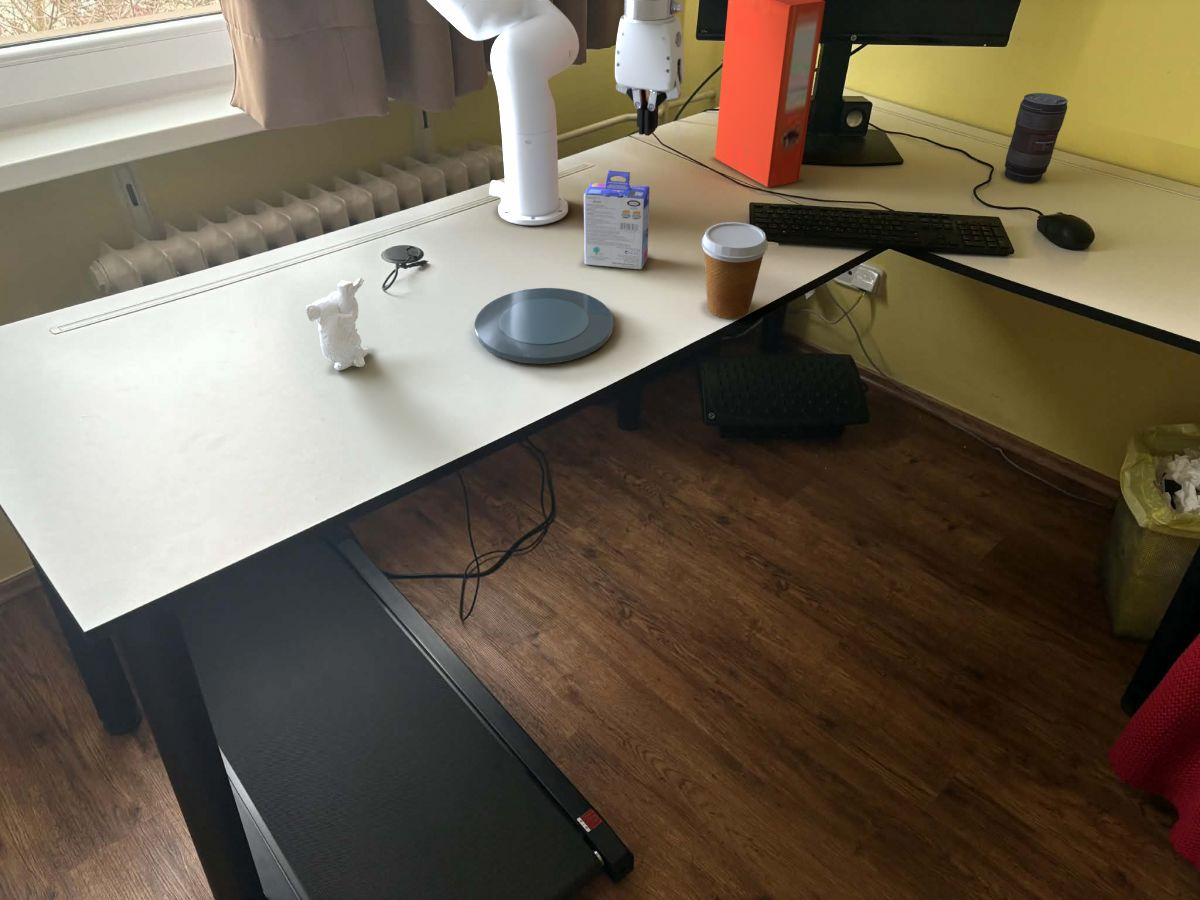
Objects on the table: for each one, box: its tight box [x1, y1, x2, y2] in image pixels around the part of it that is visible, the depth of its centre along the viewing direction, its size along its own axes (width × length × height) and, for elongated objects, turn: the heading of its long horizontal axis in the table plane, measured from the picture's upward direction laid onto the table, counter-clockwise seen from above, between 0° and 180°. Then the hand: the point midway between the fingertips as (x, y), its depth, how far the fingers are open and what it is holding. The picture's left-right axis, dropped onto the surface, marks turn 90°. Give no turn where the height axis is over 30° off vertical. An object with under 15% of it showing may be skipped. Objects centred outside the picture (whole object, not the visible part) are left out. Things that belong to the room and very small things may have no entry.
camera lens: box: [1004, 92, 1069, 184], centre depth 171 cm, size 8×8×15 cm
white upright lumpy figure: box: [305, 277, 370, 371], centre depth 120 cm, size 8×7×12 cm
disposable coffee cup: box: [700, 221, 769, 320], centre depth 132 cm, size 10×10×12 cm
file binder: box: [714, 0, 826, 189], centre depth 169 cm, size 8×17×32 cm, turn 29°
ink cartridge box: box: [583, 170, 650, 270], centre depth 144 cm, size 10×6×14 cm, turn 78°
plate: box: [474, 287, 614, 365], centre depth 130 cm, size 20×20×2 cm
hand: (647, 132), depth 144 cm, fingers closed
